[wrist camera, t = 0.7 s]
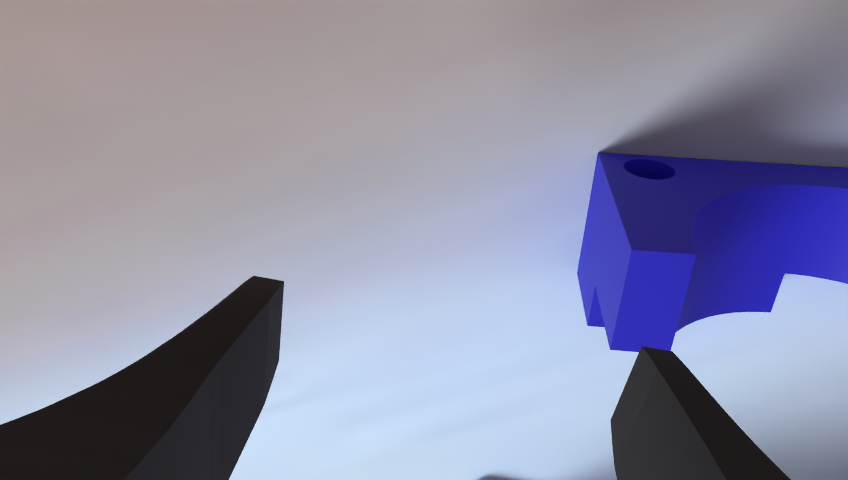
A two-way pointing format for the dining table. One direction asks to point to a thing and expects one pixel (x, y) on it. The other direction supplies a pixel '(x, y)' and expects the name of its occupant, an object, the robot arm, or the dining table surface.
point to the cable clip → (703, 240)
